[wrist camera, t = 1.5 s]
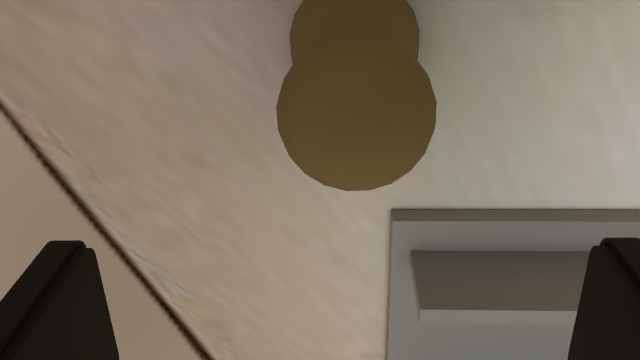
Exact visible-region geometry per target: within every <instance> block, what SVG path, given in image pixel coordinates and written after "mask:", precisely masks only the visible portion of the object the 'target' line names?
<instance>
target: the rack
mask: <svg viewBox="0 0 640 360" xmlns="http://www.w3.org/2000/svg"><path fill="white" fill-rule="evenodd" d="M622 237H635V238H639V239H640V210H391V234H390V263H389V291H388V320H387V348H386V360H568V352H569V347H570V343H571V338H572V333H573V329H574V324H575V319H576V315H577V310H578V305H579V301H580V296H581V291H582V287H583V282H584V277H585V273H586V268H587V263H588V259H589V254H590V250H591V248H592V247H593V246H595V245H600V243H601V241H602V240H603V239H604V238H622Z"/></svg>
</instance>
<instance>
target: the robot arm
mask: <svg viewBox="0 0 640 360" xmlns="http://www.w3.org/2000/svg"><path fill="white" fill-rule="evenodd" d="M0 360H119V353H118V349H117V345H116V341H115V336H114V332H113V327H112V323H111V319H110V315H109V310H108V306H107V302H106V297H105V293H104V289H103V284H102V280H101V276H100V271H99V267H98V263H97V258H96V255H95V252H94V250H93V249H92V248H86V245H85V244H84V242H82V241H50V242H49V243H47V244H46V245H45V246H44V248H43V249H42V250H41V251H40V253H39V254H38V255H37V256H36V258H35V259H34V260H33V262H32V263H31V264H30V265H29V266H28V268H27V269H26V270H25V272H24V273H23V274H22V275H21V276H20V278H19V279H18V280H17V281H16V283H15V284H14V285H13V286H12V288H11V289H10V290H9V292H8V293H7V294H6V295H5V297H4V298H3V299H2V300H1V301H0ZM568 360H640V239H639V238H635V237H622V238H604V239H603V240H602V241H601V243H600V245H595V246H593V247H592V248H591V250H590V254H589V259H588V263H587V268H586V273H585V277H584V282H583V287H582V291H581V296H580V301H579V305H578V310H577V315H576V319H575V324H574V329H573V333H572V338H571V343H570V347H569V352H568Z"/></svg>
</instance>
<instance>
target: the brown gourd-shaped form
mask: <svg viewBox="0 0 640 360" xmlns="http://www.w3.org/2000/svg"><path fill="white" fill-rule="evenodd" d="M418 44H419V28H418V25H417V22H416V18H415V15H414V12H413V9H412V8H411V7H410V5H409V4H408V2H407V1H406V0H304V1H303V2H302V4H301V6H300V7H299V9H298V10H297V12H296V13H295V16H294V20H293V24H292V28H291V32H290V45H291V56H292V63H293V66H292V67H291V69H290V70H289V72H288V73H287V75H286V76H285V78H284V81H283V83H282V87H281V91H280V95H279V99H278V103H277V119H278V130H279V133H280V136H281V138H282V140H283V143H284V145H285V147H286V149H287V152H288V154H289V156H290V157H291V159H292V160H293V161H294V162H295V163H296V164H297V165H298V166H299V168H300V169H301V170H302V171H303V172H304V173H305V174H307V175H308V176H310V177H312V178H313V179H315V180H317V181H318V182H320V183H322V184H323V185H326V186H330V187H334V188H338V189H341V190H345V191H356V190H372V189H375V188H378V187H381V186H385V185H388V184H391V183H393V182H394V181H396V180H397V179H399V178H400V177H402V176H403V175H405V174H406V173H408V172H409V171H411V170H412V168H413V167H414V166H415V165H416V164H417V162H418V161H419V160H420V159H421V157H422V156H423V155H424V154H425V152H426V149H427V147H428V144H429V142H430V139H431V137H432V134H433V132H434V129H435V122H436V99H435V96H434V93H433V89H432V86H431V83H430V79H429V77H428V75H427V73H426V72H425V70H424V69H423V68H422V66H421V65H420V63H419V62H418V61H417V58H418Z"/></svg>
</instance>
